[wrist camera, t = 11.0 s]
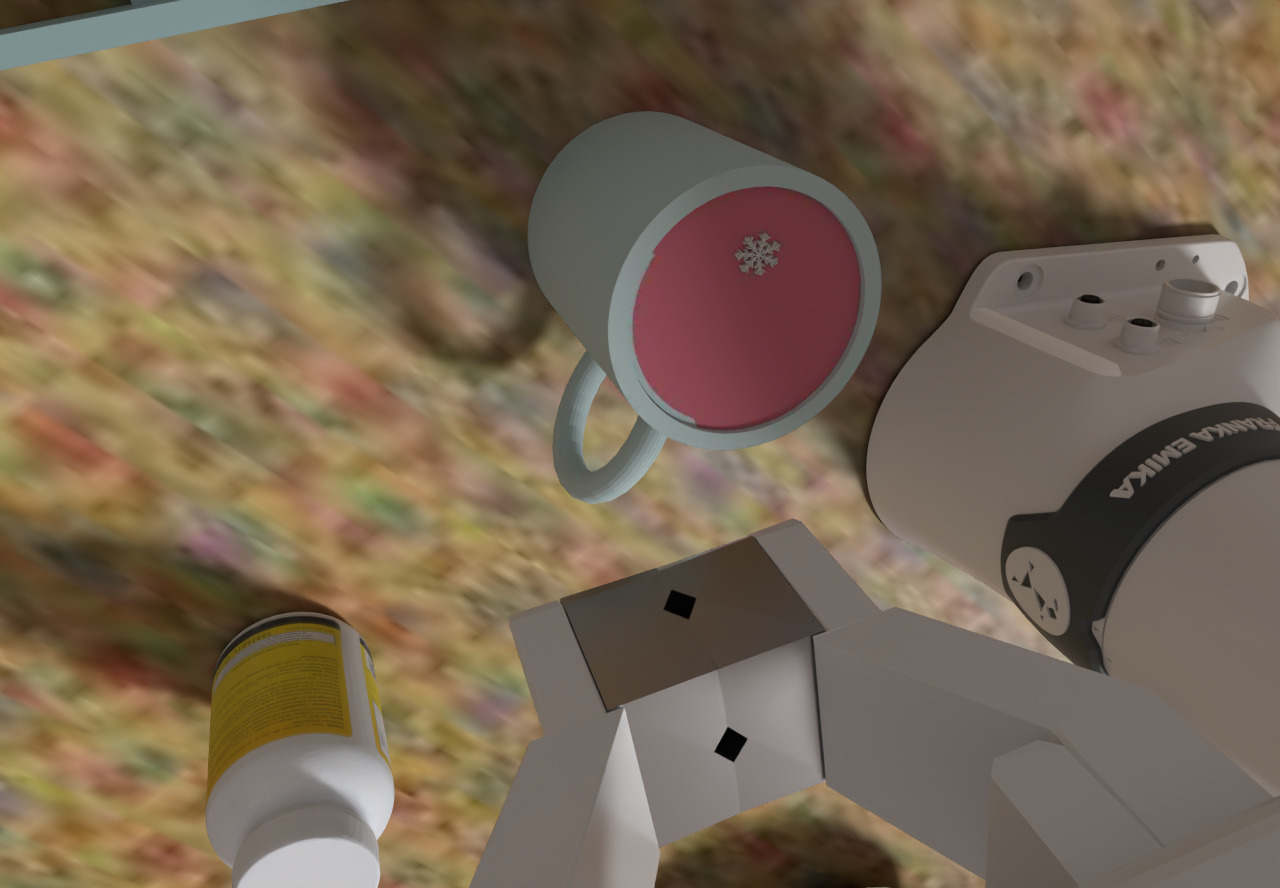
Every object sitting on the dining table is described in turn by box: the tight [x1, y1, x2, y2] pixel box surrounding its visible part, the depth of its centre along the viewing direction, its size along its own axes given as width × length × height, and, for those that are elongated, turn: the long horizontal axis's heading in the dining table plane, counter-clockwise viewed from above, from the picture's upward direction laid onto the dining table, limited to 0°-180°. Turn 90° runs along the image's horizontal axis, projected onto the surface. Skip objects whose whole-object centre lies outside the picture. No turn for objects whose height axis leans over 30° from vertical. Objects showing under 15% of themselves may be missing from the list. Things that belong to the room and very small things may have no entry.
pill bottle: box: [206, 612, 394, 888], centre depth 37 cm, size 6×6×12 cm
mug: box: [528, 111, 882, 504], centre depth 34 cm, size 14×9×10 cm
